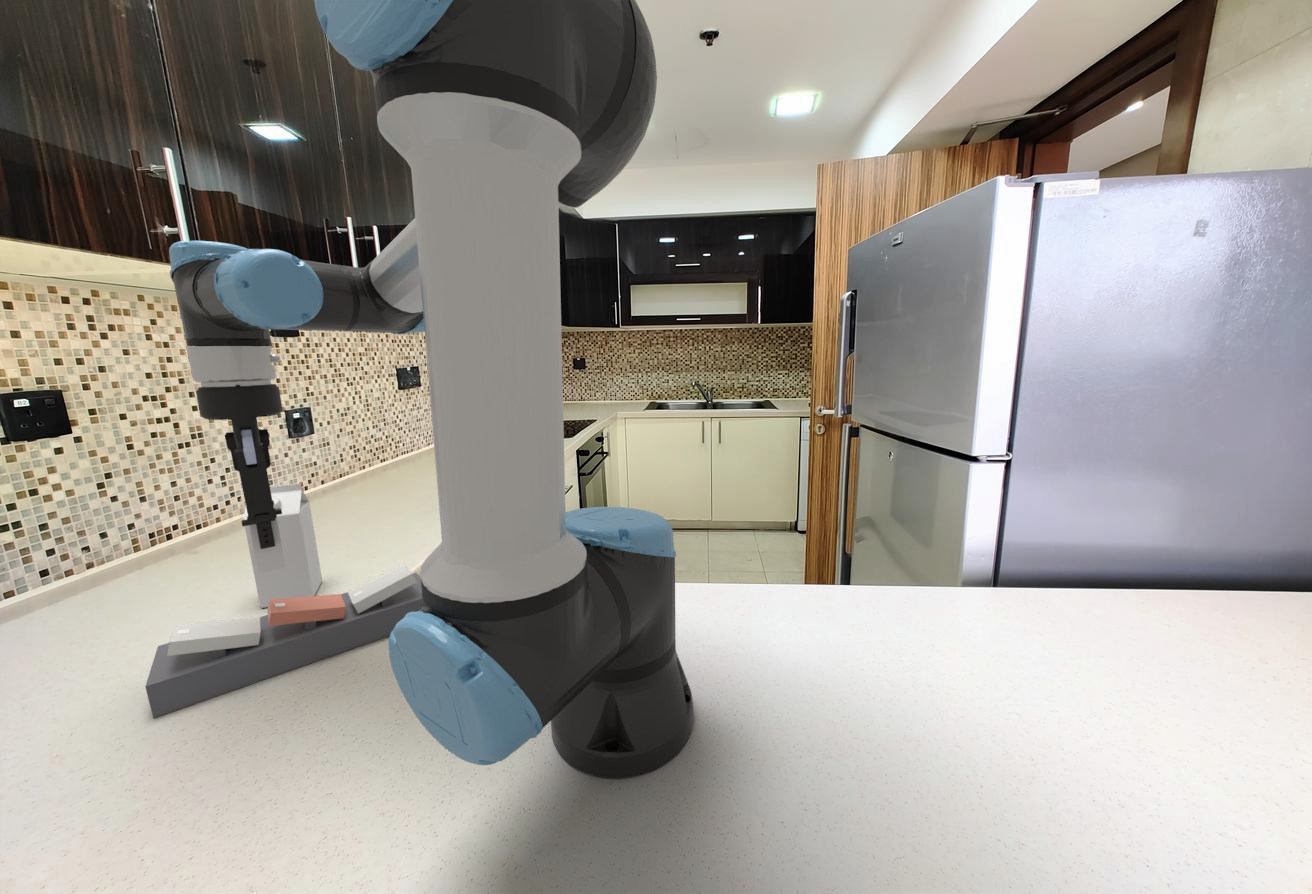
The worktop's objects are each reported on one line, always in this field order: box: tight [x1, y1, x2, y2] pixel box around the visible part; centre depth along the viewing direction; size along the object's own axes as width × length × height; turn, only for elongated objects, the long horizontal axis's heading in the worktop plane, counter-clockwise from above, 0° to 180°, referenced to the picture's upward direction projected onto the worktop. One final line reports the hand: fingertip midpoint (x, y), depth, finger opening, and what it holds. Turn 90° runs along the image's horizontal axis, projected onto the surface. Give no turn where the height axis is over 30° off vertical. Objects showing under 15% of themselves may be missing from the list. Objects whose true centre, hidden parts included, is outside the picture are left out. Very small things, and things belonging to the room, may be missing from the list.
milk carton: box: [242, 483, 323, 609], centre depth 79 cm, size 7×7×19 cm
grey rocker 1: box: [167, 616, 261, 656], centre depth 58 cm, size 5×8×2 cm, turn 130°
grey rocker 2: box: [347, 562, 416, 614], centre depth 69 cm, size 5×8×2 cm, turn 130°
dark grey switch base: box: [144, 572, 423, 719], centre depth 67 cm, size 10×36×5 cm, turn 130°
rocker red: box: [267, 593, 346, 626], centre depth 64 cm, size 5×8×2 cm, turn 130°
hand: (272, 568), depth 61 cm, fingers closed
